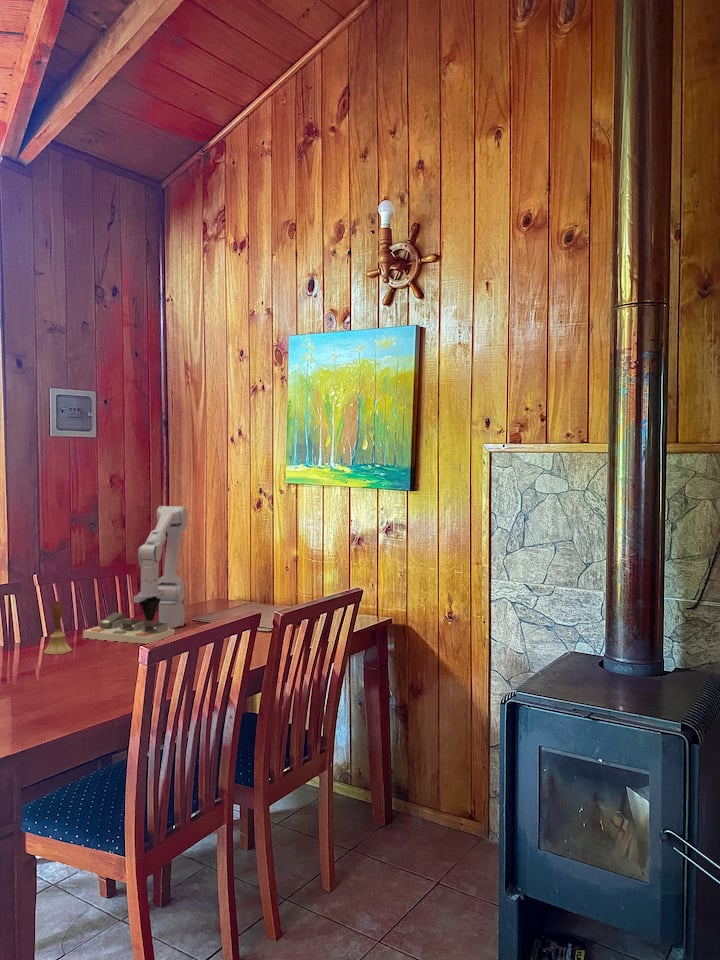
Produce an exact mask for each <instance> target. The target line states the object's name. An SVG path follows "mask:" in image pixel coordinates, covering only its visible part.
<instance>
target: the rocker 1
mask: <svg viewBox="0 0 720 960" xmlns="http://www.w3.org/2000/svg"><path fill="white" fill-rule="evenodd" d="M124 618H125V616H124V613H122V612H113V613H111V614H110V615H108V616H107V617H105V618H104V619H102V620H103V621H101V622H100V623H99V622H98V626H99V625H100V627H102V628H110V627H112V622H115V621H118V620H121V619H124Z"/></svg>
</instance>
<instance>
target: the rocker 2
mask: <svg viewBox="0 0 720 960" xmlns="http://www.w3.org/2000/svg"><path fill="white" fill-rule="evenodd" d="M142 621H143V626H150V627H157V626H160V625H163V624H166V623H159V621H154V620H152V621H146V620H142Z"/></svg>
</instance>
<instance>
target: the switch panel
mask: <svg viewBox="0 0 720 960" xmlns="http://www.w3.org/2000/svg"><path fill="white" fill-rule="evenodd" d="M103 620H104V619H101V620H98V626H95V627H91V628H88V629H84V630H82V638H83V639H86V638H89V639H88V640H95V639H97V640H98V641H104V640H107V641H106V642H113V641H118V642H117V643H122V642H129V643H128V644H131V643H138V644H137V645H140V644H139V643H145V644H147V643H151V642H155V641H158V640H161V639H163V638H166V637H168V636H171V635H174V633H175V634H176V629H169V628H168V624H163V625H160V626H157V627H150V626H143V622H140V623H137V624H134V625H130V624H122V623H121V620H118V621H115V622H112V627H110V628H102V627H100V625H99V623H100V622H101V621H103ZM97 640H96V641H97Z"/></svg>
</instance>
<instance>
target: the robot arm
mask: <svg viewBox="0 0 720 960" xmlns="http://www.w3.org/2000/svg"><path fill="white" fill-rule="evenodd" d="M156 519H157V523H156V527H155V529H153V530H151V531H150V533H149V535H148V537H147V538H146V541H145V542H144V544H142V545H140V546H139V547H138V552H137V559H138V564H139V567H140V592H138V593H137V594H136V595H134V596H133V603H138V604H139V605H140V607H141V608H142V609H141V610H143V611H142V612H143V613H144V618H145V621H154V619H155V616H156V615H155V614H156V610H157V608H158V622H159V623H166V624H168V628H169V629H170V628H172V627H177V626H179V625H180V624H183V623H186V621H185V620H186V619H185V615H186V614H185V611H186V608H185V605H184V603H183V602H182V601H184V598H185V592H186V591H185V582H184V580H183V579H182V578H180V576H178V569H179V558H180V551H181V550H180V549H181V547H180V546H181V537H182V532H183V531H185V530H186V529H187V524H188V523H187V522H188V510H187V508H186V506H185V505H181V506H179V505H178V506H174V505H173V506H169V505H165V506H164V505H159V506H158V507H157V509H156ZM166 533H167V536H166ZM165 542H166V549H165V557H164V568H163V575H162V576H161V577H159V575H160V574H159V572H160V570H159V568H160V567H159V563H160V560H161V558H162V554H163V547H164V545H165Z"/></svg>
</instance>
